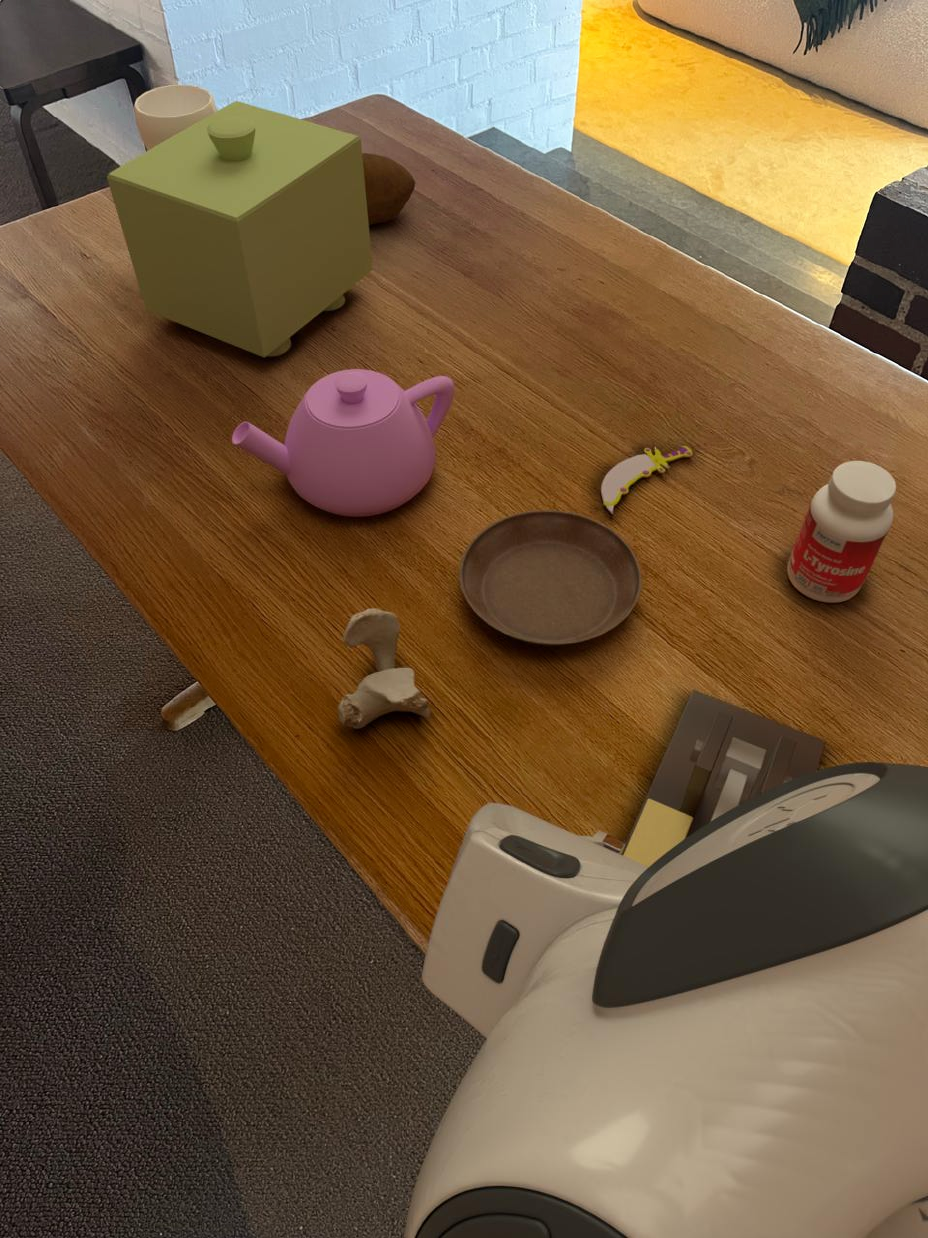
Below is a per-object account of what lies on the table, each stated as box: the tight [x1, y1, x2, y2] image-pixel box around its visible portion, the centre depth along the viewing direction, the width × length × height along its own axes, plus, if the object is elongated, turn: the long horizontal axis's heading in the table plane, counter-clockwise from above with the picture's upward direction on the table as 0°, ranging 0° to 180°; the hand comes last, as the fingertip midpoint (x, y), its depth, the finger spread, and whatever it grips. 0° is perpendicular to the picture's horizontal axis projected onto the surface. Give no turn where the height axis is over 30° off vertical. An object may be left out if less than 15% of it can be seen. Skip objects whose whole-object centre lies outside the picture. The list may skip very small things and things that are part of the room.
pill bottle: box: [786, 460, 897, 604], centre depth 76 cm, size 6×6×11 cm
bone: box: [337, 608, 431, 730], centre depth 70 cm, size 9×6×10 cm
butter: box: [623, 799, 693, 867], centre depth 60 cm, size 9×5×5 cm, turn 63°
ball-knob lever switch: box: [710, 737, 766, 822], centre depth 54 cm, size 15×3×3 cm, turn 153°
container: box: [106, 100, 373, 358], centre depth 99 cm, size 19×16×20 cm
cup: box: [133, 84, 218, 151], centre depth 110 cm, size 9×9×16 cm
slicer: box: [621, 689, 827, 855], centre depth 62 cm, size 20×10×11 cm, turn 153°
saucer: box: [458, 509, 643, 647], centre depth 79 cm, size 15×15×3 cm
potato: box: [362, 152, 416, 226], centre depth 116 cm, size 8×12×8 cm, turn 114°
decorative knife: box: [600, 445, 693, 515], centre depth 89 cm, size 12×1×5 cm
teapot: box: [231, 368, 455, 518], centre depth 85 cm, size 14×20×11 cm
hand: (698, 890), depth 46 cm, fingers open, 8 cm apart
